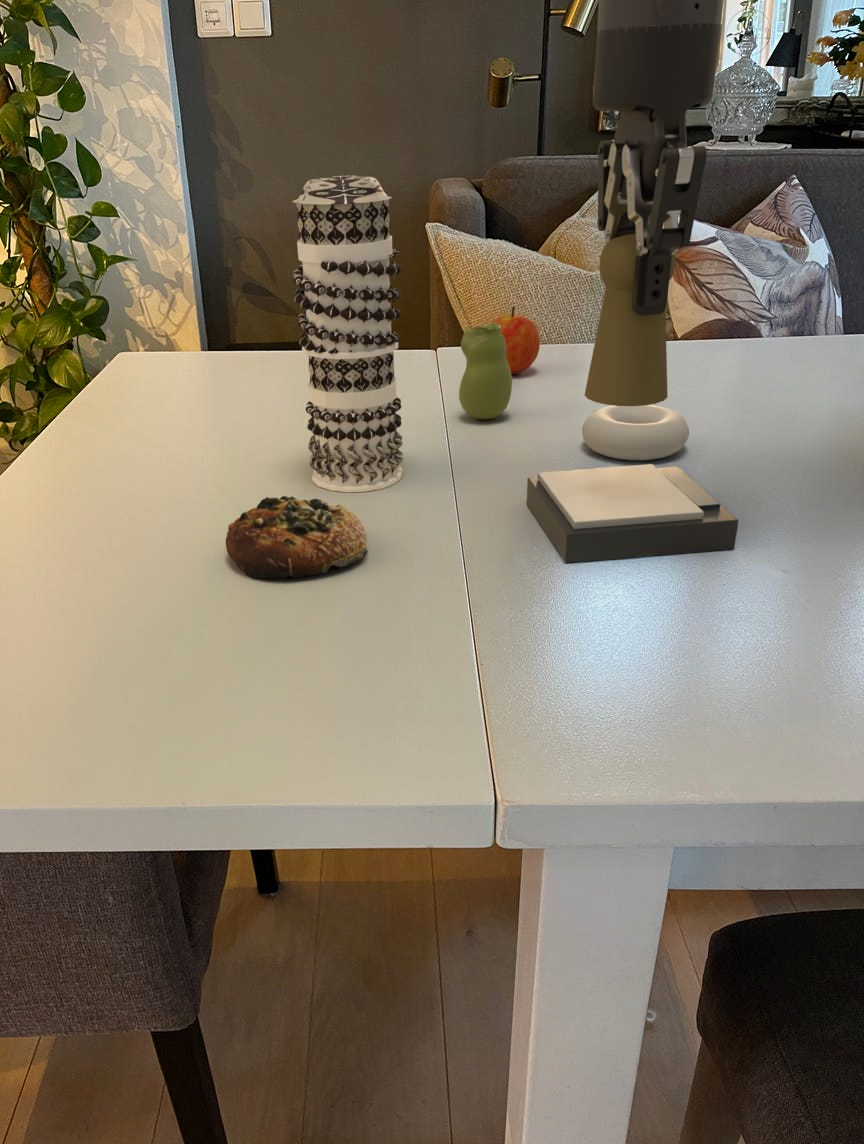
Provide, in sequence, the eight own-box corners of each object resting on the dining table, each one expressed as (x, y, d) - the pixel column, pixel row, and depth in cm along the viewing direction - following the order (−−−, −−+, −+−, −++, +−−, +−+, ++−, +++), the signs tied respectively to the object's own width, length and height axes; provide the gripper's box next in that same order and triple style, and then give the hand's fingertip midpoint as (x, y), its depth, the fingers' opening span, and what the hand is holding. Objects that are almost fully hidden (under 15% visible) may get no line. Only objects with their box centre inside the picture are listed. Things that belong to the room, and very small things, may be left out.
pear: (480, 429, 99) (482, 330, 94) (448, 418, 103) (448, 322, 98) (520, 418, 102) (523, 322, 97) (487, 408, 106) (488, 314, 101)
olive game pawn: (661, 409, 67) (680, 242, 62) (576, 403, 69) (587, 241, 64) (672, 386, 72) (690, 229, 67) (592, 381, 74) (603, 229, 69)
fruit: (476, 368, 121) (476, 302, 117) (528, 364, 122) (531, 298, 118) (491, 382, 115) (492, 313, 111) (546, 377, 116) (549, 309, 112)
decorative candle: (426, 468, 89) (421, 173, 77) (369, 500, 83) (354, 183, 70) (347, 453, 94) (331, 172, 82) (288, 483, 87) (260, 182, 75)
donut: (587, 431, 98) (574, 461, 89) (589, 397, 96) (576, 425, 88) (688, 436, 95) (685, 468, 87) (692, 402, 93) (689, 431, 85)
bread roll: (207, 578, 70) (203, 511, 68) (248, 537, 80) (246, 478, 78) (356, 588, 68) (357, 520, 67) (379, 545, 79) (380, 485, 77)
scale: (674, 492, 82) (678, 459, 80) (734, 549, 71) (740, 512, 70) (526, 504, 81) (527, 470, 79) (565, 563, 70) (567, 526, 69)
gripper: (769, 10, 53) (727, 323, 62) (674, 27, 66) (649, 286, 74) (639, 15, 53) (614, 330, 61) (567, 32, 65) (555, 292, 74)
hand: (633, 304), depth 68 cm, fingers closed on olive game pawn, 5 cm apart
